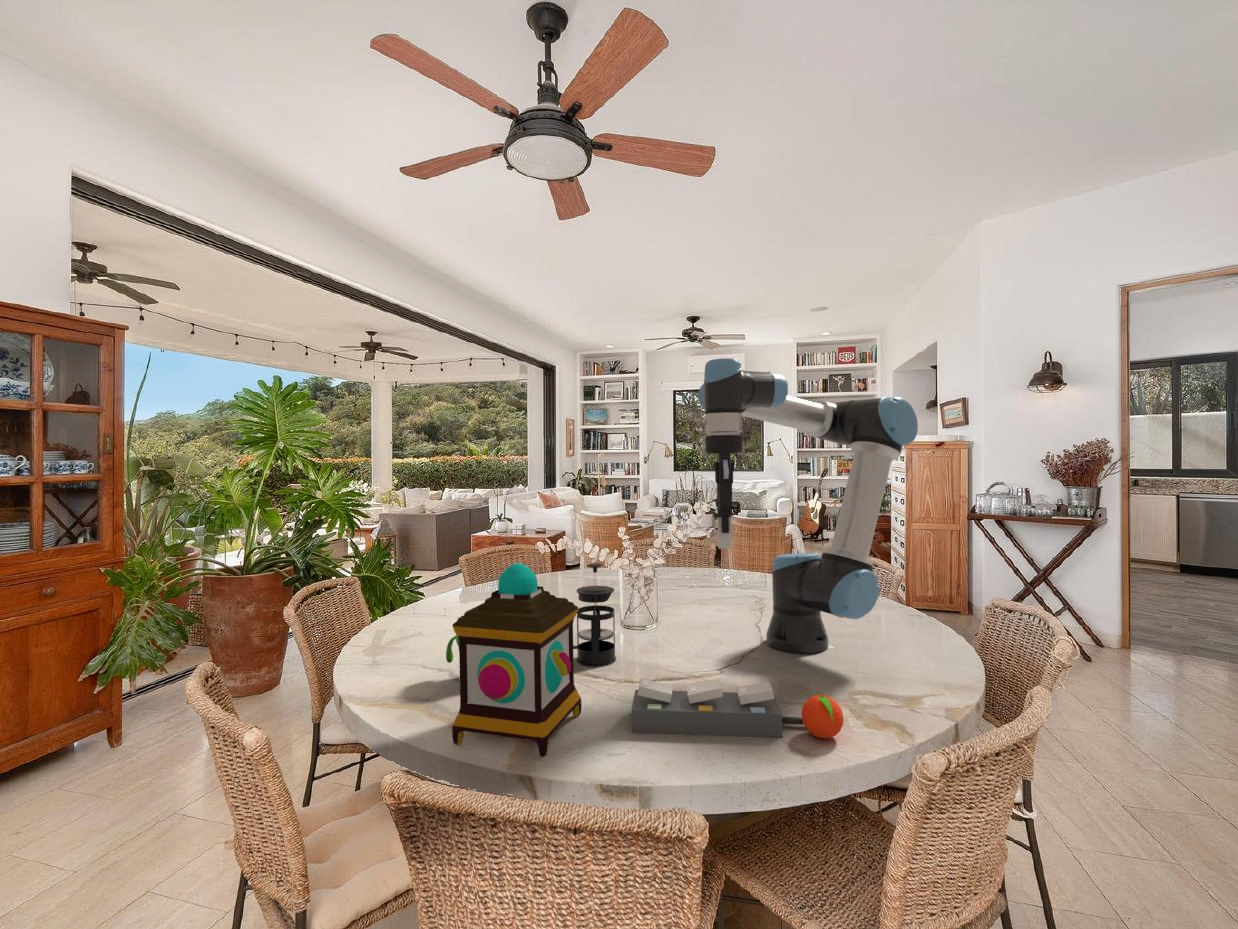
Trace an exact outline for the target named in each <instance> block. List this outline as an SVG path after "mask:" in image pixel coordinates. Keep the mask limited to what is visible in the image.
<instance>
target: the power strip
mask: <svg viewBox="0 0 1238 929" xmlns="http://www.w3.org/2000/svg"><path fill="white" fill-rule="evenodd" d="M722 695H723V697H720V698H715V699H710V700H705V701H701V702H696V703H691V704H690V702H689V699H688V690H672V696H671V701H670V703H669V702H665V701H661V700H657V699H652V698H648V697H644V696H640V695H638V689H635V690H634V695H633V699H632V706H631V711H630V712H631V733H645V734H646V733H647V734H670V735H671V734H674V735H675V734H676V735H678V734H679V735H700V736H701V735H704V736H705V735H706V736H727V737H728V736H730V737H733V736H734V737H735V736H736V737H756V738H757V737H762V738H765V737H766V738H783V725H803V726H804V724H803V721H802V716H800V717H799V716H783V713H782V711H781V708H780V705H779V702H778V700H777V697H776V695H775V693H773V695H774V699H771V700H765V701H760V702H754V703H748V704H743V705H741V704H740V700H739V695H738V692H735V691H734V692H727V691H722Z"/></svg>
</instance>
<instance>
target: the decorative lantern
mask: <svg viewBox="0 0 1238 929" xmlns="http://www.w3.org/2000/svg"><path fill="white" fill-rule="evenodd" d="M497 584H498V586H497V587H498V588H497V590H494V591H493V592H491V596H490V597H488V598H486V599H485V600H484V602H483V603H481V604H478V605H477V606H475V607H473V608H471V609H468V610H467V611H465V612H464V614H463V615H461V616H459V617H457V620H456V621H454V622H453V623H452V626H451V627H452V629H453V631H454V633H455V636H456V635H457V637H458V639H459V646H458V653H459V655H458V656H459V660H458V662H459V699H460V700H459V701H460V702H459V704H460V705H459V710H458V713H457V714H456V717H455V719H454V721H453V724H452V727H451V737H452V742H453V744H454V745H456V746H459V745H461V744H462V743H463V740H464V732H466V733H475V734H480V735H489V736H496V737H504V738H512V739H516V740H517V739H518V740H525V741H526V740H527V741H530V742H533V743H535V744H536V746H537V750H538V755H539V757H540V758H545V757H546V755H547V753H548V746H549V739H550V737H551V736H552V735H553V734H554V733H555V731H556V730H557V729H558V728H559V727H560V726H561V725H562V723H563V722H564V721H565V720H566V719H567V717H568V716H570V714H571V713H572V715H573V716H574V717H575V718H578V717H579V716H580V715H581V714H582V697H581V696H580V695H581V694H580V693H579V691H578V690H577V687H576V686H575V674H574V671H575V668H574V665H575V664H574V663H575V662H574V649H573V646H574V620H575V618H576V617H577V611H578V609H579V606H577V605H575V603H574V602H572V601H569V599H568V598H566V597H557V596H556V595H553V594H551V593H550V591H547V590H545V589H544V586H542V585H541V586H540V585H538V578H537V575H536V573H535V572H534V571H533V570H532V569H531V568H530V567H529V566H527V565H526V564H525V563H524V564H523V563H520V562H515V563H513V564H511V565H509V566H508V567H507V568H505V570H504V571H503V572H502V573H501V574H500V576H499V577H498V583H497Z"/></svg>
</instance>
